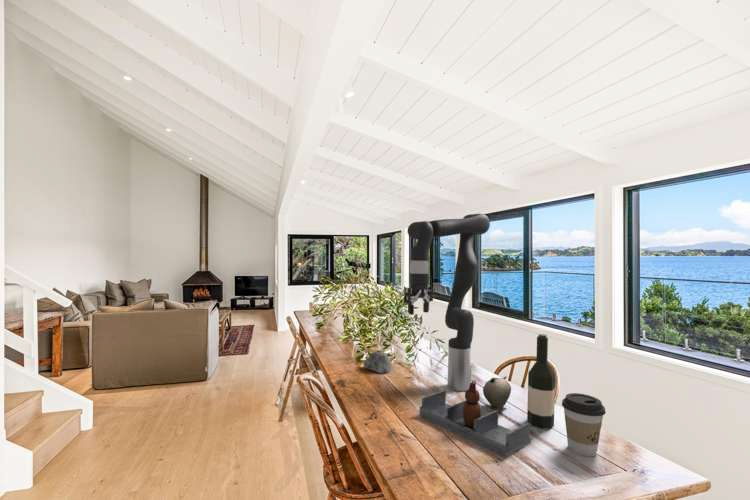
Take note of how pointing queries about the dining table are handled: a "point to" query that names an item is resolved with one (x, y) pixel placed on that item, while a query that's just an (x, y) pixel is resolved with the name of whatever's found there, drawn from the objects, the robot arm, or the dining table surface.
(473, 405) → the wooden figurine
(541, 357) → the wine bottle
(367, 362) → the mineral rock
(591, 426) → the coffee cup
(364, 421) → the dining table surface
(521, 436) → the grey shelf
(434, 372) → the dining table surface
